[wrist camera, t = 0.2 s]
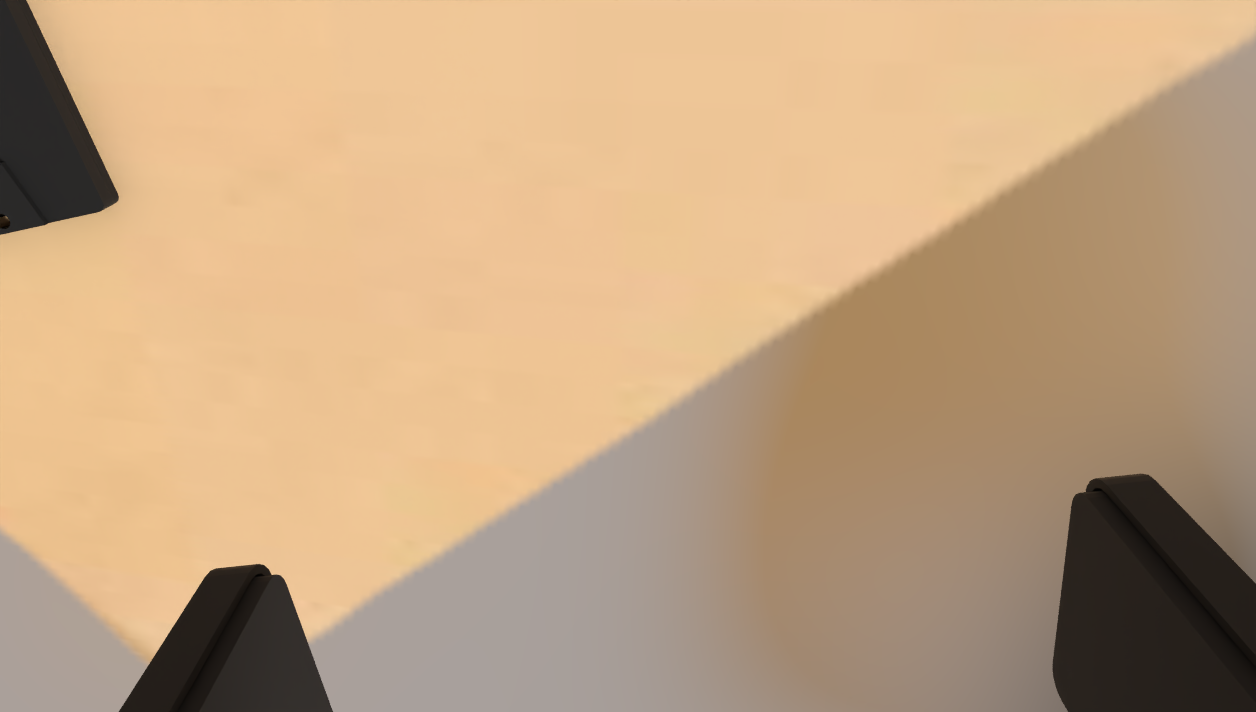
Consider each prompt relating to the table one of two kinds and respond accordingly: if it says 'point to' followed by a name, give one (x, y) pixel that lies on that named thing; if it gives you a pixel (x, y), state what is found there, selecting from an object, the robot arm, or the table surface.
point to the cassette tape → (42, 133)
